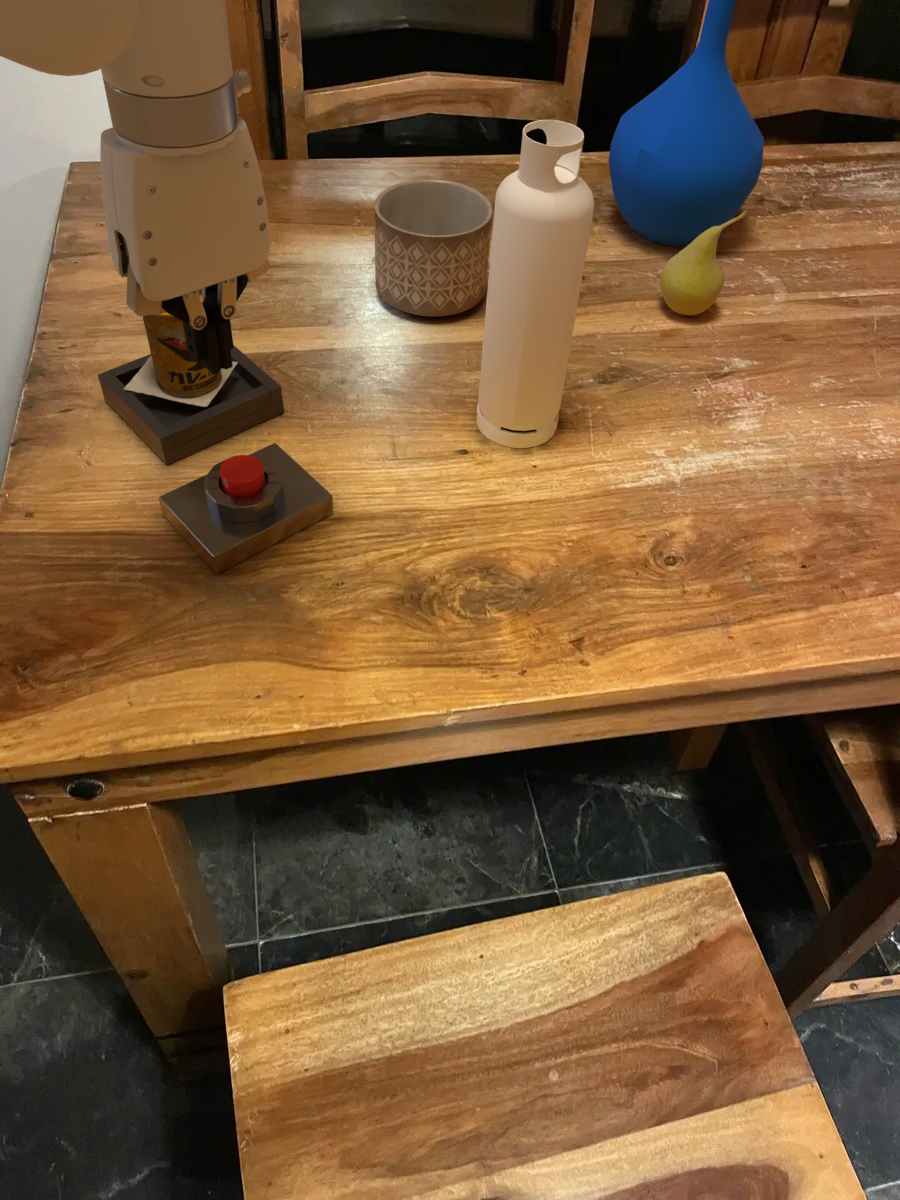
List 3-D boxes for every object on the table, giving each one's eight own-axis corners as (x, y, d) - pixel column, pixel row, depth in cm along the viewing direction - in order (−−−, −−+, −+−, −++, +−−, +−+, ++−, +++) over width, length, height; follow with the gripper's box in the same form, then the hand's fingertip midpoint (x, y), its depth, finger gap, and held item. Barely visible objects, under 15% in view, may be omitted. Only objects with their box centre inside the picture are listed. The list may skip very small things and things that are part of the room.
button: (237, 504, 78) (234, 489, 77) (214, 481, 80) (211, 466, 79) (273, 486, 80) (271, 471, 79) (250, 464, 82) (248, 449, 80)
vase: (760, 262, 116) (850, -14, 93) (617, 266, 113) (674, -15, 91) (713, 191, 127) (783, -69, 105) (583, 194, 125) (625, -72, 102)
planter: (404, 335, 102) (406, 246, 94) (357, 278, 109) (355, 190, 101) (505, 310, 106) (514, 222, 98) (453, 256, 113) (458, 170, 105)
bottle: (516, 386, 97) (551, 102, 76) (573, 425, 93) (627, 137, 72) (459, 418, 93) (479, 127, 72) (516, 459, 89) (555, 166, 68)
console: (216, 574, 78) (210, 541, 75) (162, 515, 82) (153, 481, 79) (333, 513, 83) (331, 480, 80) (277, 460, 88) (273, 426, 85)
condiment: (207, 408, 87) (186, 292, 78) (123, 390, 88) (93, 274, 79) (238, 364, 92) (222, 250, 83) (158, 348, 93) (133, 233, 84)
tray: (166, 466, 86) (160, 439, 84) (105, 401, 92) (97, 374, 90) (284, 412, 92) (281, 386, 90) (219, 355, 98) (215, 328, 95)
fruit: (648, 293, 110) (672, 193, 101) (710, 293, 111) (739, 194, 101) (662, 326, 106) (688, 225, 96) (726, 325, 106) (758, 224, 97)
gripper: (245, 62, 62) (269, 309, 76) (27, 111, 55) (97, 372, 69) (311, 101, 58) (323, 352, 72) (86, 159, 51) (147, 424, 65)
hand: (212, 361), depth 70 cm, fingers closed
